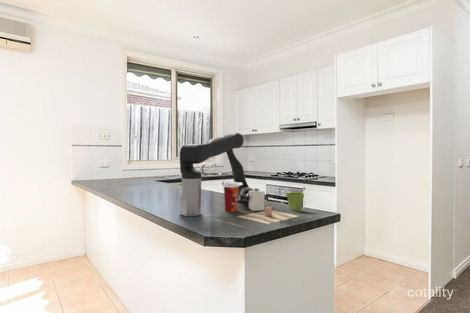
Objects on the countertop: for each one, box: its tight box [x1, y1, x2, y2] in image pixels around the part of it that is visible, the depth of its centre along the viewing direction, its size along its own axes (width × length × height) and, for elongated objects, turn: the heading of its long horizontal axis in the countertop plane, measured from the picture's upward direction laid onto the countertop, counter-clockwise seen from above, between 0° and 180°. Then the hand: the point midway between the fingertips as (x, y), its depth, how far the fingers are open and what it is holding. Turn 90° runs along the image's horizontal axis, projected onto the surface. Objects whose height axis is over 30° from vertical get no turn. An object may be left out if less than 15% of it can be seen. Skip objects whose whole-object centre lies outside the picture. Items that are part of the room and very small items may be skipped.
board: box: [236, 210, 299, 225], centre depth 128 cm, size 22×18×1 cm
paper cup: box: [223, 182, 239, 213], centre depth 141 cm, size 8×8×14 cm
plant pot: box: [285, 192, 305, 212], centre depth 145 cm, size 9×9×9 cm
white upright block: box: [248, 187, 266, 211], centre depth 145 cm, size 6×6×11 cm
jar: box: [264, 206, 273, 217], centre depth 128 cm, size 3×3×4 cm
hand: (256, 199), depth 144 cm, fingers open, 8 cm apart
